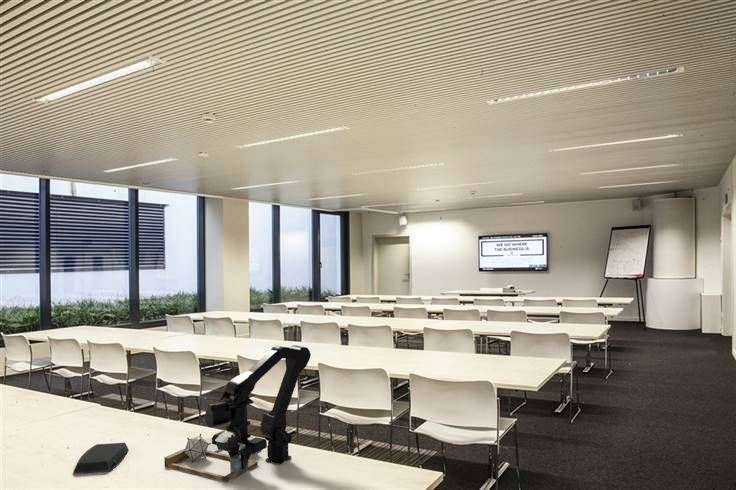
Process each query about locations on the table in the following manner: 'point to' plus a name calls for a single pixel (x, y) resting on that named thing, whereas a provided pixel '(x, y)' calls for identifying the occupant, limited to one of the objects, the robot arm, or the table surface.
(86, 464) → the external hard drive
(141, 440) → the table surface
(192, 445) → the game die
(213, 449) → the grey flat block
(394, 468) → the table surface
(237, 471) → the wooden tray frame
